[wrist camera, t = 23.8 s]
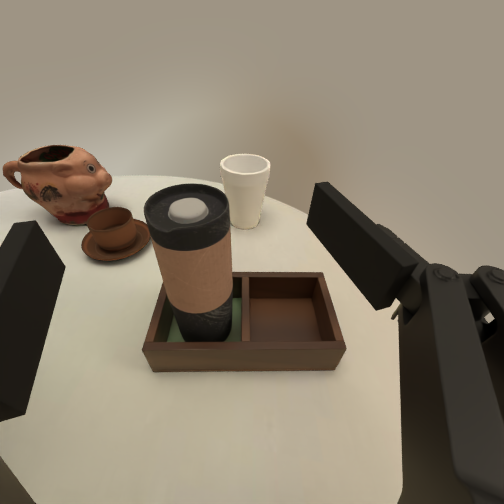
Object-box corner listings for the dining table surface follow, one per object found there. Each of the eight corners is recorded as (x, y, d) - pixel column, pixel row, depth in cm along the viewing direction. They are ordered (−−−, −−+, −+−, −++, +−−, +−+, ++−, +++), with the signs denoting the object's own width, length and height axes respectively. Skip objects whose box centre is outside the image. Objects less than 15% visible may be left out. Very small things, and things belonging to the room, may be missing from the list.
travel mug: (226, 299, 40) (220, 178, 26) (240, 343, 35) (240, 220, 21) (176, 310, 38) (141, 187, 25) (182, 359, 33) (142, 235, 19)
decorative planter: (12, 234, 51) (-39, 166, 42) (41, 202, 60) (5, 140, 51) (117, 229, 53) (91, 164, 44) (131, 198, 62) (111, 139, 53)
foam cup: (264, 235, 53) (269, 176, 45) (220, 232, 54) (216, 173, 45) (266, 210, 60) (270, 155, 52) (227, 207, 61) (225, 152, 52)
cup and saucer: (79, 239, 50) (64, 213, 46) (140, 219, 56) (132, 194, 52) (94, 276, 44) (79, 249, 39) (162, 249, 49) (155, 223, 45)
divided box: (172, 295, 41) (166, 271, 37) (315, 295, 42) (322, 272, 38) (153, 372, 32) (141, 350, 28) (334, 370, 33) (346, 349, 29)
